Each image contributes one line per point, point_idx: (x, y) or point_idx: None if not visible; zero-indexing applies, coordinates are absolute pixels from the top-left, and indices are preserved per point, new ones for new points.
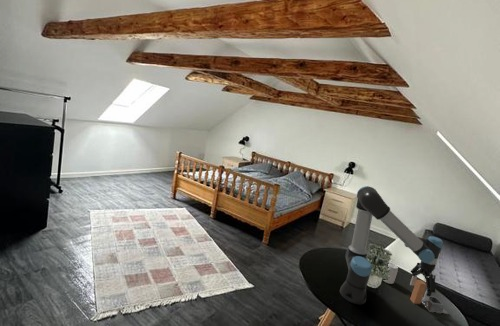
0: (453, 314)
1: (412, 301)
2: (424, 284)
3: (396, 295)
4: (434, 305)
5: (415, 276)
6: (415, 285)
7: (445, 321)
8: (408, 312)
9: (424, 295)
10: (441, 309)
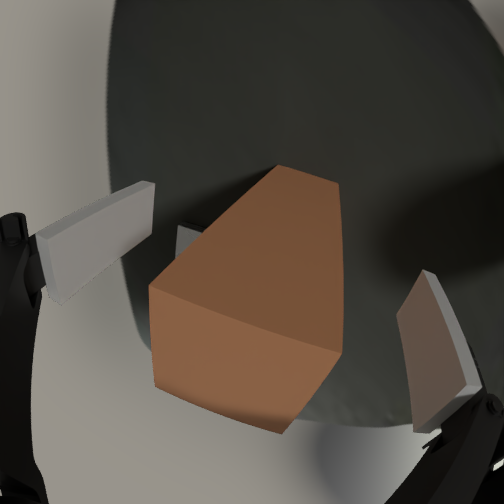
0: None
1: (300, 172)
2: (156, 354)
3: (397, 75)
4: None
5: (437, 417)
6: (322, 253)
7: None
8: (179, 21)
9: (119, 199)
10: None
